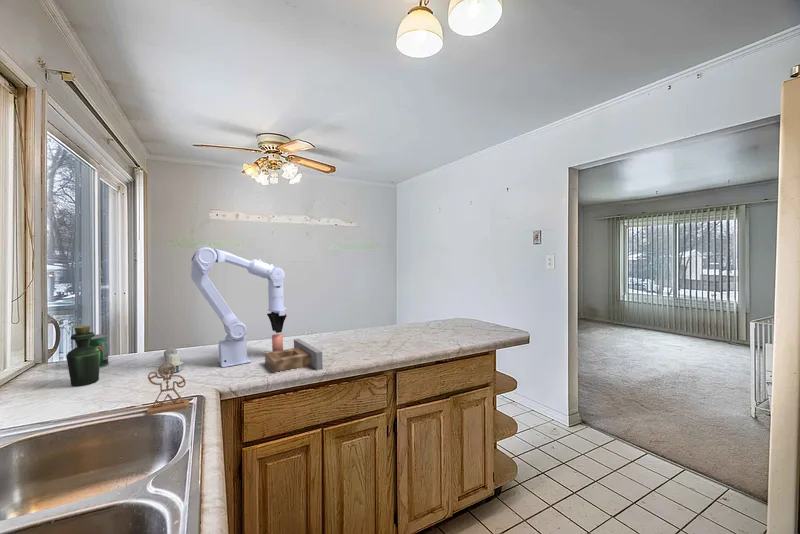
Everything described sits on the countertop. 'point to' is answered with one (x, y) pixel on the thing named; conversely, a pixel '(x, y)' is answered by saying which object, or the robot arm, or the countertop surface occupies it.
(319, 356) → the wall
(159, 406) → the gingerbread man figurine
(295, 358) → the block
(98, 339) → the canned tomato
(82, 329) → the potion bottle
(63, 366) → the countertop surface
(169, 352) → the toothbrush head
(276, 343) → the dowel
